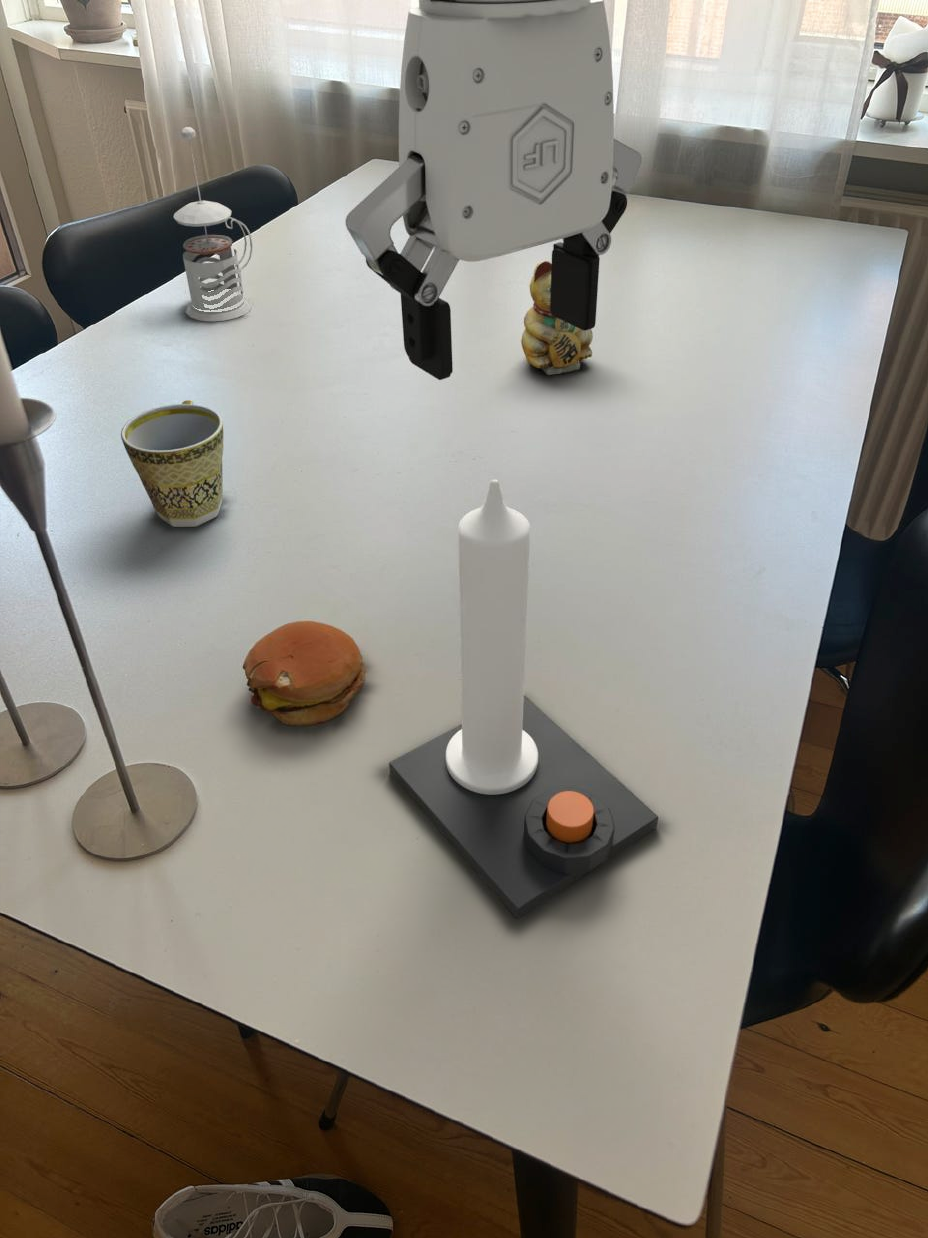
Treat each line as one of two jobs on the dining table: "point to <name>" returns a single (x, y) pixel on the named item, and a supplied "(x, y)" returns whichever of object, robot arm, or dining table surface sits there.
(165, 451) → the ceramic cup
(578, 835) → the button
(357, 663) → the burger
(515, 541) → the candle
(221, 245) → the french press
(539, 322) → the decorative figurine
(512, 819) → the scale
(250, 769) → the dining table surface
